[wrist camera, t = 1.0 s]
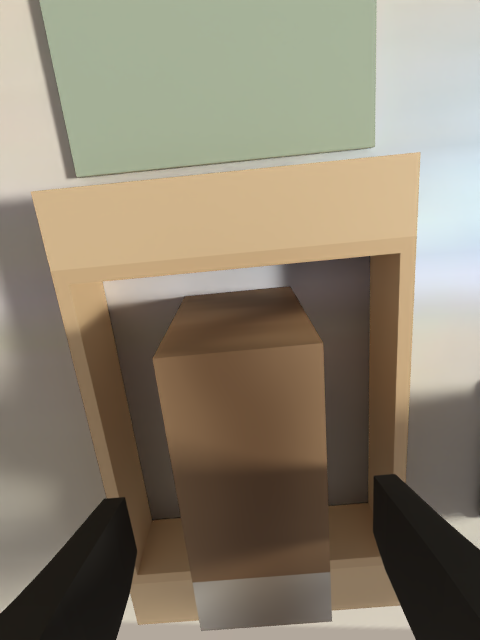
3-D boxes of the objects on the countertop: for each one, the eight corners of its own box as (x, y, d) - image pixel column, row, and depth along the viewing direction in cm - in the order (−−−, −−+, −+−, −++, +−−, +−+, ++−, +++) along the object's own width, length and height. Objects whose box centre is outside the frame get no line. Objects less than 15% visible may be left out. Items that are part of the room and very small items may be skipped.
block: (290, 286, 16) (323, 343, 10) (301, 483, 19) (331, 621, 13) (185, 296, 16) (152, 358, 10) (212, 490, 19) (201, 631, 13)
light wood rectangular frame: (384, 161, 15) (419, 152, 12) (377, 547, 20) (400, 605, 17) (70, 192, 15) (30, 191, 12) (152, 565, 21) (138, 624, 18)
